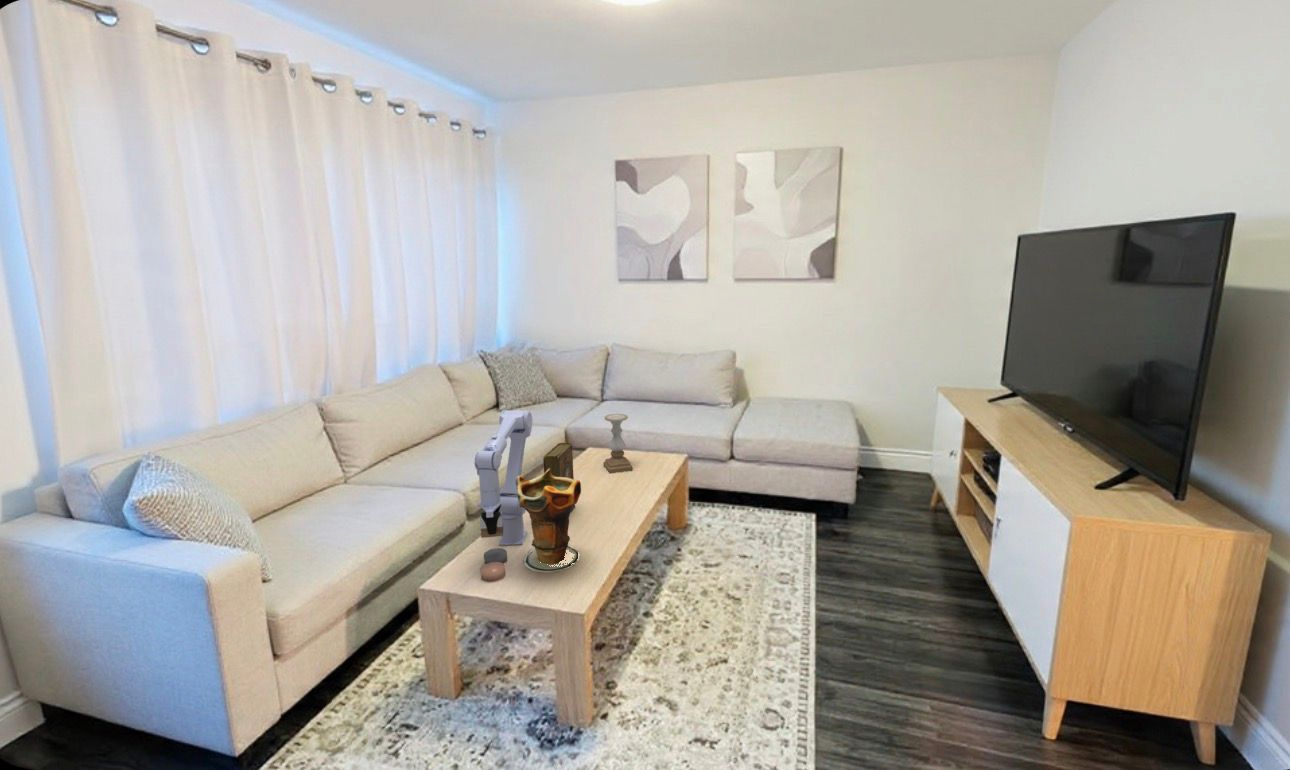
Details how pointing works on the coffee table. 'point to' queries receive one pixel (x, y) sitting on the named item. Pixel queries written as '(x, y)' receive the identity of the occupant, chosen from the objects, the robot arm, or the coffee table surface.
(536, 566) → the decorative vase
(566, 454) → the book
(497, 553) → the stand
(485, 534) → the housing
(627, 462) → the candle holder
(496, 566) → the stand
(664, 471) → the coffee table surface
